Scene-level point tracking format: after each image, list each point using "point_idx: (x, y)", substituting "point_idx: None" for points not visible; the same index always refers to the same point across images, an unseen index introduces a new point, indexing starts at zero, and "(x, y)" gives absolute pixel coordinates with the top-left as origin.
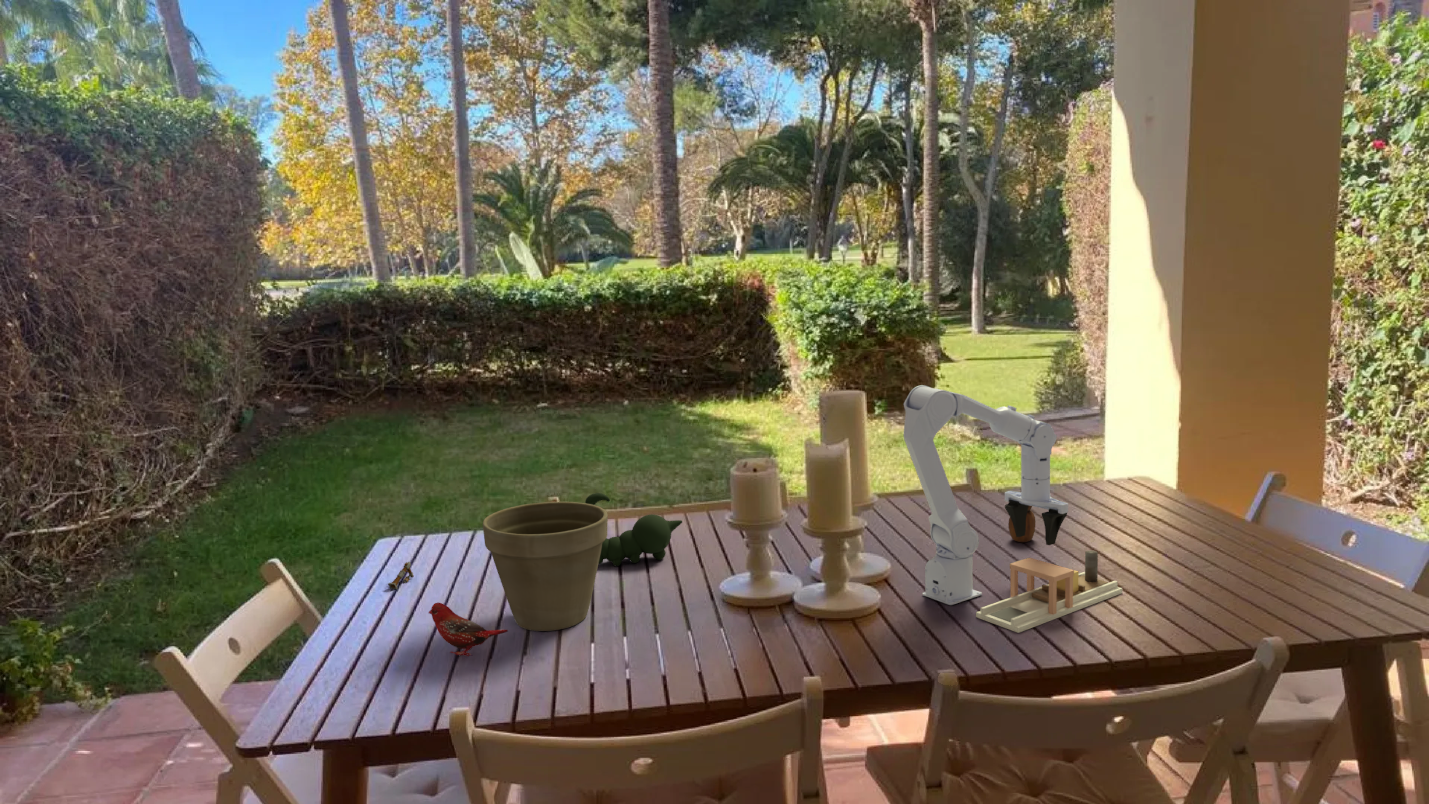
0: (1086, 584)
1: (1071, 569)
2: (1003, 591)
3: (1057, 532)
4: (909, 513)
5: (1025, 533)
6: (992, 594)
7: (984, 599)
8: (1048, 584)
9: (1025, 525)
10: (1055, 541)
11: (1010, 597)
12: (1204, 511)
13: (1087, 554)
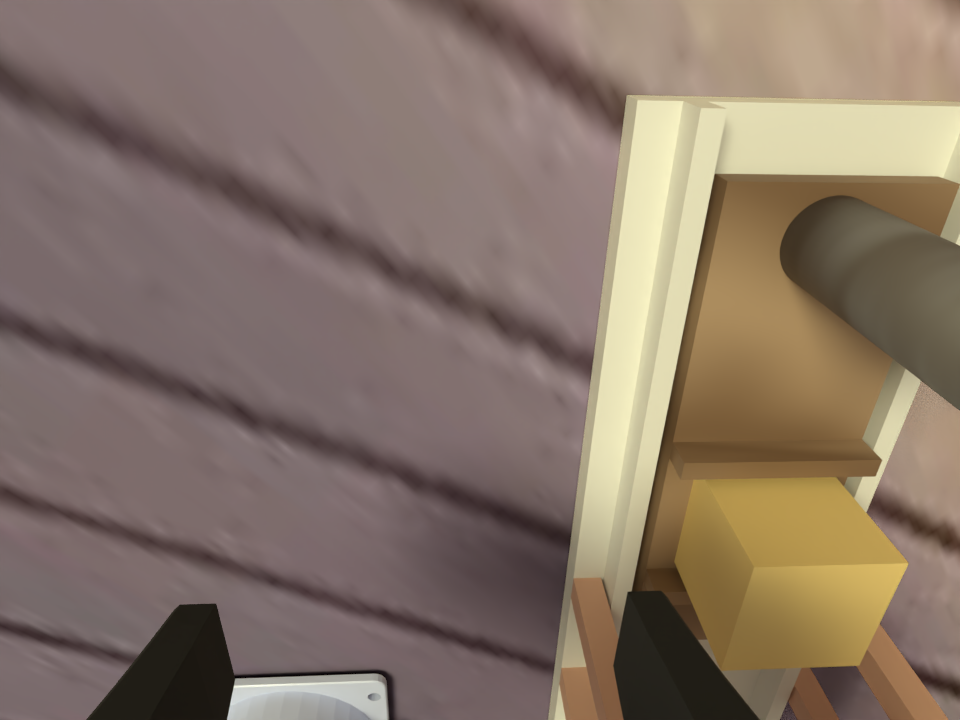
0: (828, 341)
1: (847, 566)
2: (408, 578)
3: (745, 712)
4: None
5: None
6: (403, 633)
7: (426, 686)
8: (631, 511)
9: (154, 711)
10: (676, 610)
11: (562, 698)
12: None
13: None
